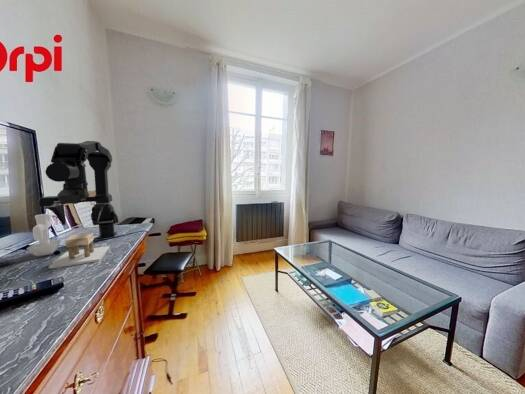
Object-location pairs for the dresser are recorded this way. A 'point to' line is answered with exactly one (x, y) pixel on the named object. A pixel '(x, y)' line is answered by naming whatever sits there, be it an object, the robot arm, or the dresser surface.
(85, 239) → the tan pegged block
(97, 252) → the mat
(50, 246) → the figurine
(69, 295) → the dresser surface
